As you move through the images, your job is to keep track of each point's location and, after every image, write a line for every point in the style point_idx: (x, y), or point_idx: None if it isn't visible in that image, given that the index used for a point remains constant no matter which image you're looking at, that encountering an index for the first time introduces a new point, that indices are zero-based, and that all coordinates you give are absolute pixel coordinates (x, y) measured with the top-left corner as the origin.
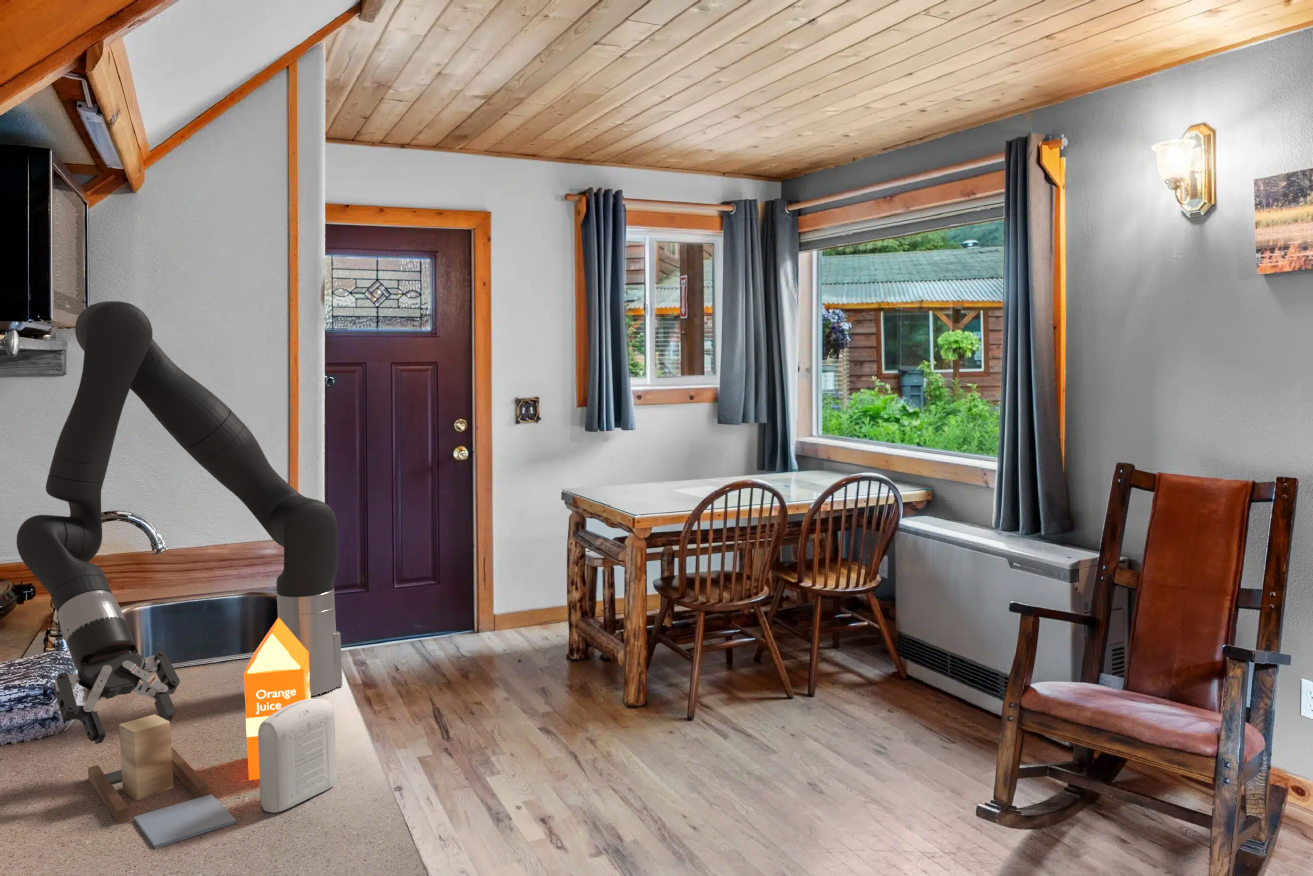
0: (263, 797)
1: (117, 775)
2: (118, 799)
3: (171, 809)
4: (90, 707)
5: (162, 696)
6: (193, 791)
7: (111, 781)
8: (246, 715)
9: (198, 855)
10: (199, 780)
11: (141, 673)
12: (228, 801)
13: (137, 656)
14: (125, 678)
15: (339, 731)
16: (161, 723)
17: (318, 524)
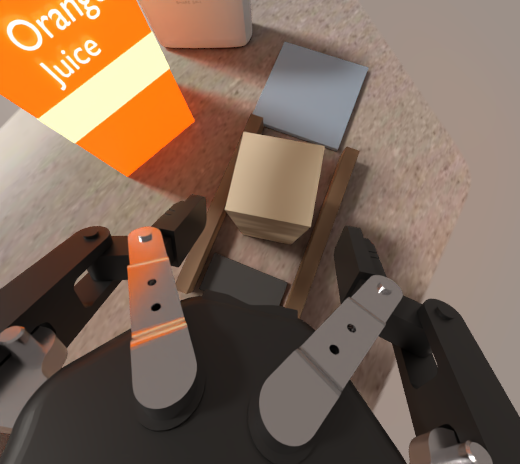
0: (249, 20)
1: (266, 295)
2: (338, 181)
3: (302, 125)
4: (382, 280)
5: (170, 224)
6: None
7: (284, 282)
8: (147, 24)
9: (350, 23)
10: None
11: (153, 296)
12: (249, 95)
13: (33, 443)
14: (216, 328)
15: (19, 138)
16: (259, 140)
17: None
